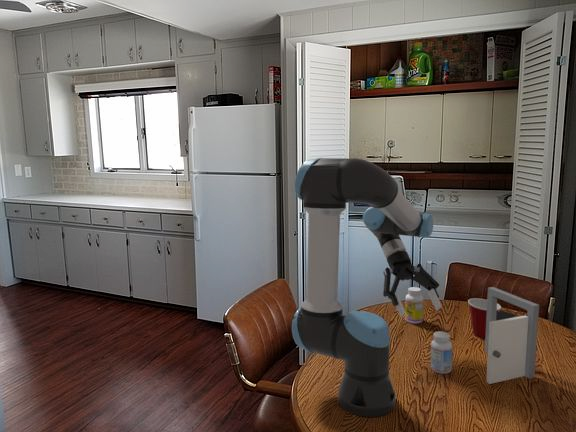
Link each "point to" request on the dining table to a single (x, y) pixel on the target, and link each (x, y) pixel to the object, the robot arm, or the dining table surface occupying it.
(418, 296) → the supplement bottle
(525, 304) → the door frame
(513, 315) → the phone
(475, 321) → the plastic cup
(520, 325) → the door
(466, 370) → the dining table surface
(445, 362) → the pill bottle
